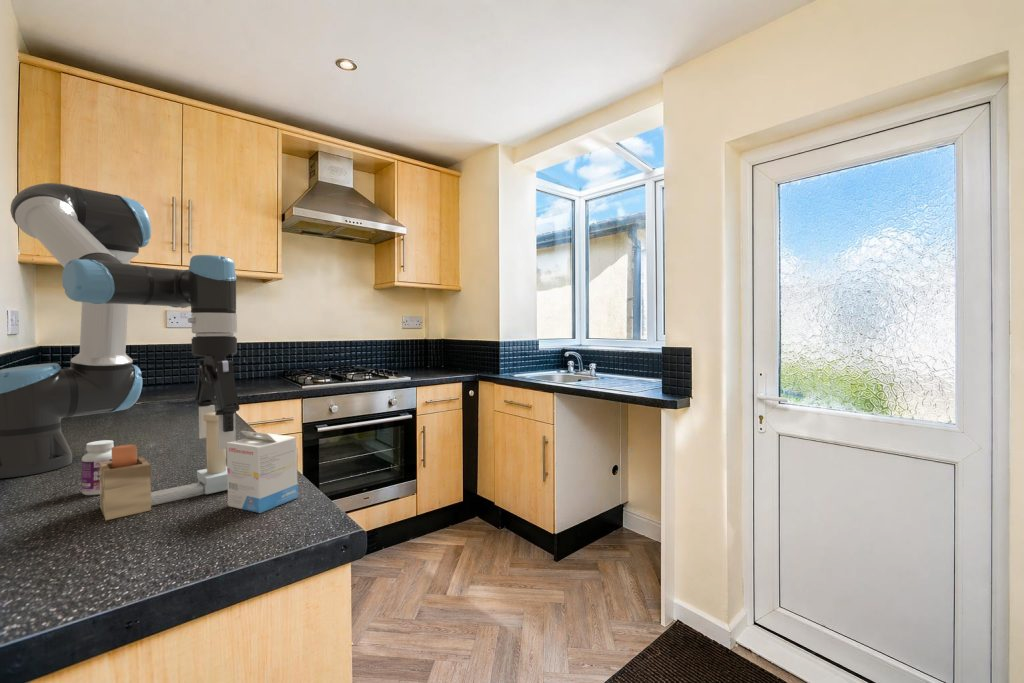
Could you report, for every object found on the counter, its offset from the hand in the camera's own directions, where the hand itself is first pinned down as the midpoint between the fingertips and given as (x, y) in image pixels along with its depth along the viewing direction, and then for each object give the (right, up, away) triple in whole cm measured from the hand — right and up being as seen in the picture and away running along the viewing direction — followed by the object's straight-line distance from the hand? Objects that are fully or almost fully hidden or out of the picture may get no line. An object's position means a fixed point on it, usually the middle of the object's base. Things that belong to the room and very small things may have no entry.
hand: (216, 442), depth 91 cm
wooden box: (-10, -10, -10) cm, 17 cm away
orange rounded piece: (-10, -2, -10) cm, 14 cm away
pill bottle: (-22, -10, -1) cm, 24 cm away
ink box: (+13, -10, -6) cm, 17 cm away
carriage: (0, -9, 0) cm, 9 cm away
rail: (-3, -9, -3) cm, 10 cm away
